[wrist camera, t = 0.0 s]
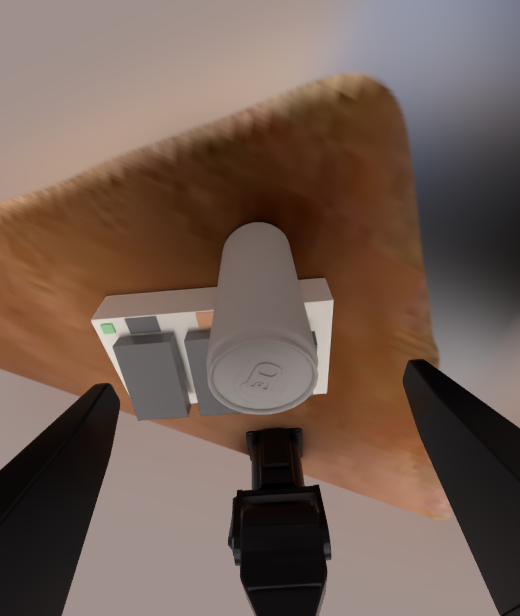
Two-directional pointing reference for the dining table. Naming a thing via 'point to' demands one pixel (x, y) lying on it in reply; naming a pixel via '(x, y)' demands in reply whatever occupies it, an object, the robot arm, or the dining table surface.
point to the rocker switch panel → (200, 321)
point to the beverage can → (260, 326)
